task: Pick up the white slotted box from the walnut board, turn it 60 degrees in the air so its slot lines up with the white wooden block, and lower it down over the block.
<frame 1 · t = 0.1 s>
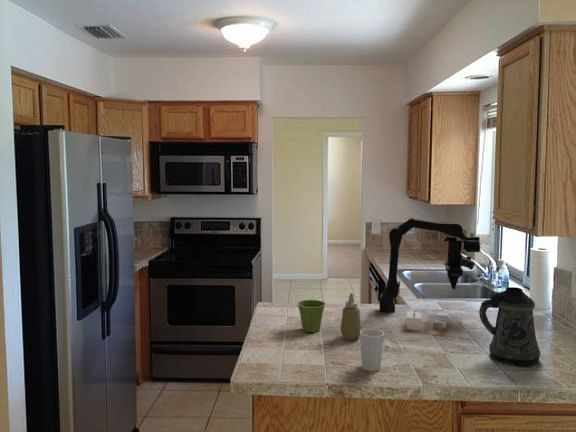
hand: (452, 286, 219), 15 cm above the countertop, fingers open, 9 cm apart
squeeze bottle: (350, 338, 196), on the countertop
base board: (426, 331, 204), on the countertop
beer stein: (510, 359, 176), on the countertop
white wooden block: (439, 332, 203), resting on base board
white slotted box: (413, 326, 205), point 1 cm above the countertop, touching base board
cup: (371, 367, 168), on the countertop
plant pot: (311, 330, 206), on the countertop
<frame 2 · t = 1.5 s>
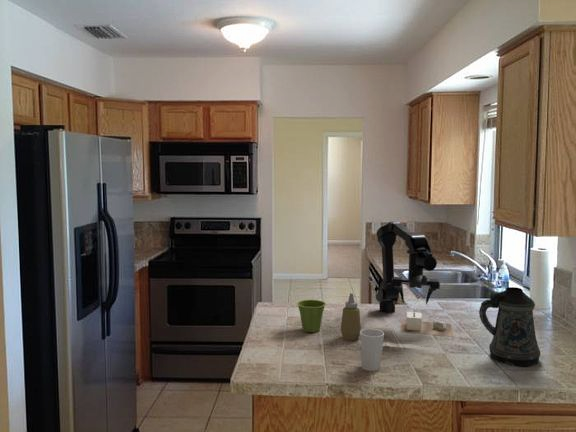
hand: (414, 303, 204), 11 cm above the countertop, fingers open, 9 cm apart
nothing on the countertop moved.
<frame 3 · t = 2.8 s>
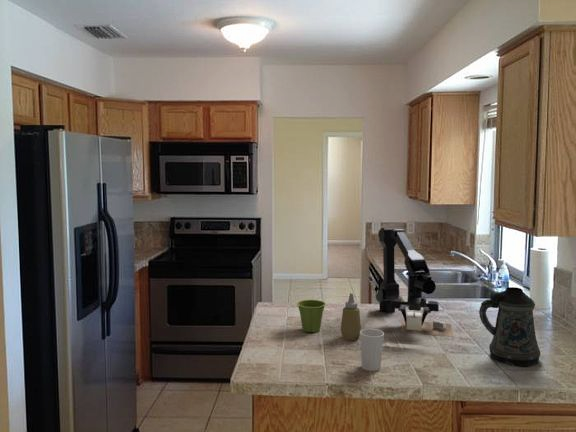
hand: (413, 325, 205), 2 cm above the countertop, fingers closed on white slotted box, 6 cm apart
white slotted box: (413, 326, 205), point 1 cm above the countertop, touching base board, gripper
everything else where it was.
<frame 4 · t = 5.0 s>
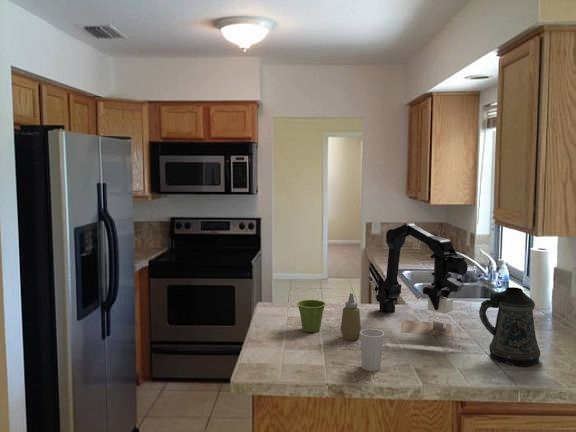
hand: (439, 308, 202), 10 cm above the countertop, fingers closed on white slotted box, 6 cm apart
white slotted box: (440, 310, 202), point 9 cm above the countertop, touching gripper
everything else where it was.
when the fingers open (3 cm above the countertop, at t = 7.1 s): white slotted box stays where it is, resting on base board.
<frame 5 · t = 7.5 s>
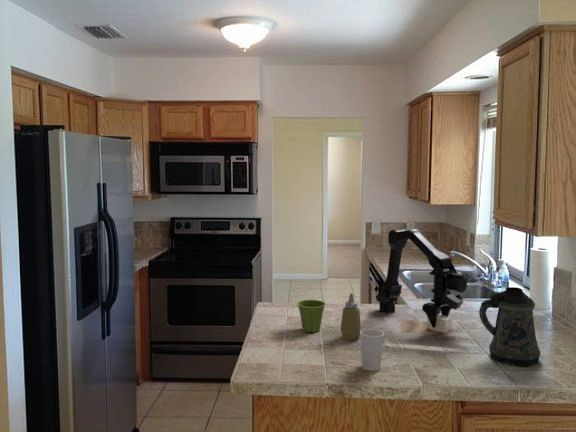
hand: (439, 324, 203), 3 cm above the countertop, fingers open, 9 cm apart
white slotted box: (439, 328, 203), point 1 cm above the countertop, touching base board
everything else where it was.
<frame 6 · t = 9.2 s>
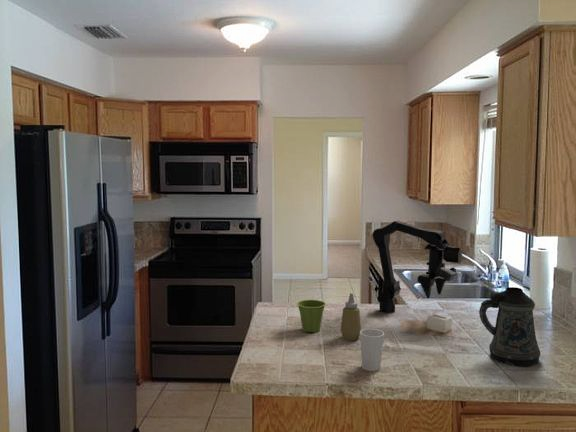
hand: (433, 296, 214), 12 cm above the countertop, fingers open, 9 cm apart
nothing on the countertop moved.
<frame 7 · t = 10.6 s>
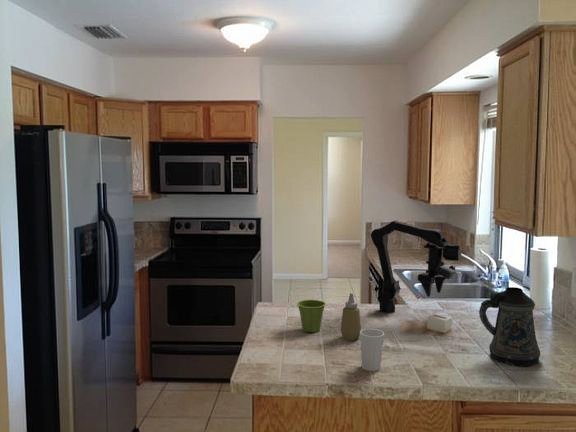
hand: (433, 294, 216), 12 cm above the countertop, fingers open, 9 cm apart
nothing on the countertop moved.
at the end: white slotted box 0.0 cm from the white wooden block (horizontally); white slotted box point 1.5 cm above the countertop; white slotted box tilted 0° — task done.
